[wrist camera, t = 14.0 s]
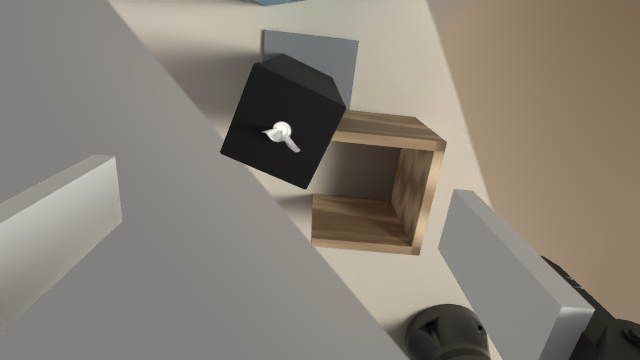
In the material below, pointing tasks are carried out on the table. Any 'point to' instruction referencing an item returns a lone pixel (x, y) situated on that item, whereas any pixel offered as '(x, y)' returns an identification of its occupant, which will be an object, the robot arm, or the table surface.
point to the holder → (407, 197)
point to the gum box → (274, 2)
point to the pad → (318, 56)
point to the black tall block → (285, 120)
